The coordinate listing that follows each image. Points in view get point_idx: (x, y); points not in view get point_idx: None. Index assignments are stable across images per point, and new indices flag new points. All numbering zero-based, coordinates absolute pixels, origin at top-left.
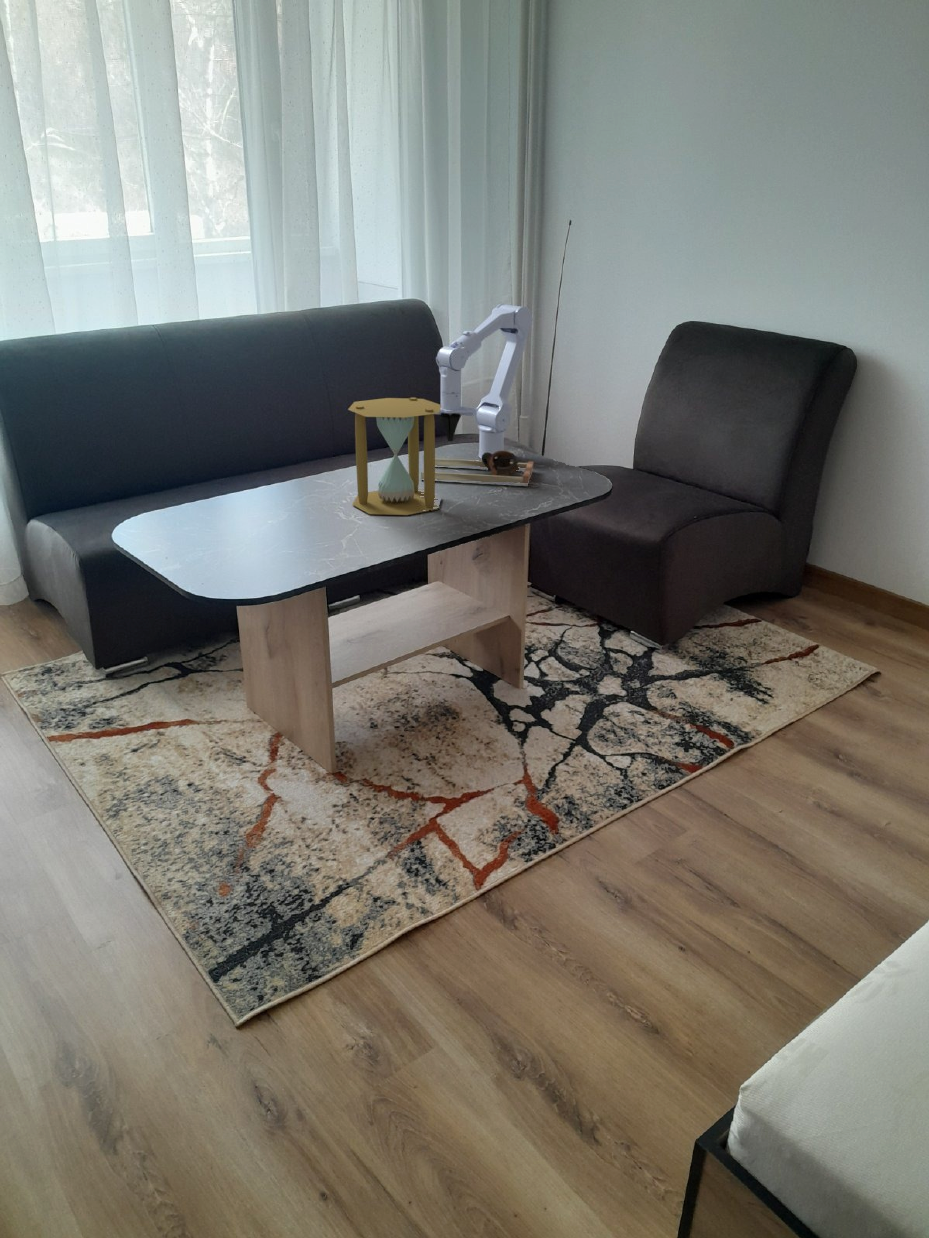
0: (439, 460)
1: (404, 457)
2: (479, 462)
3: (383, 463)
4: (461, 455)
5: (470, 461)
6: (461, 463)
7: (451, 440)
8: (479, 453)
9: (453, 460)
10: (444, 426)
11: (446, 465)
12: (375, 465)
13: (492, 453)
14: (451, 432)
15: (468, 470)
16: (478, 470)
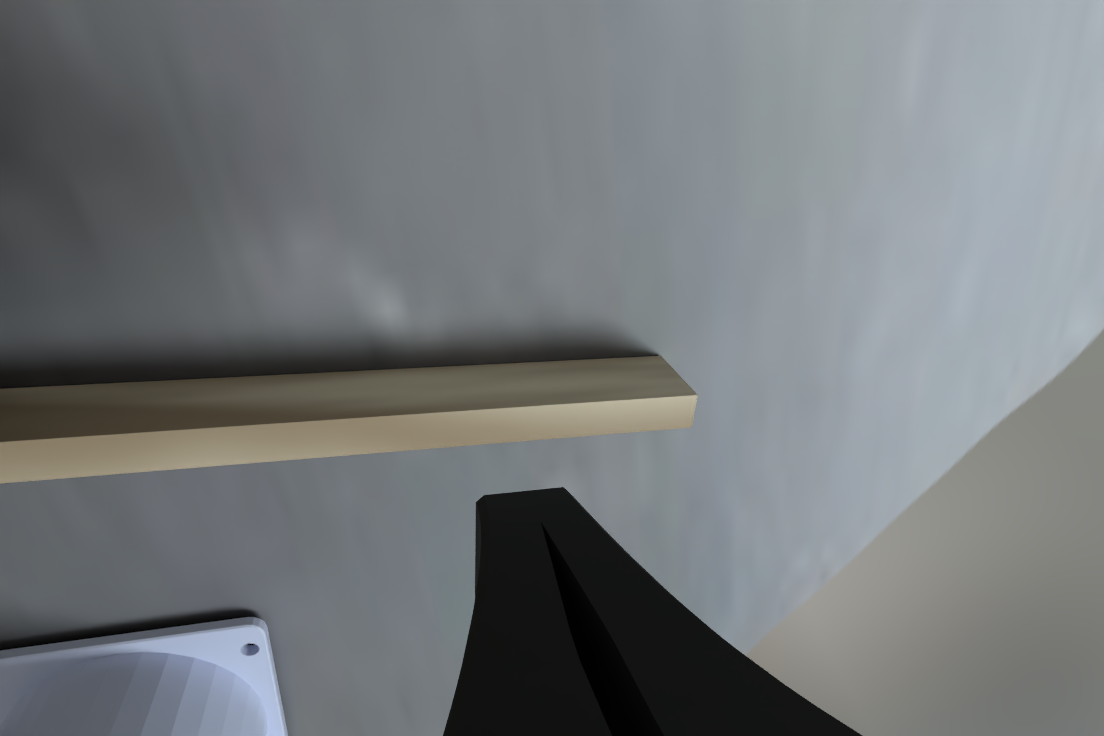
0: (600, 395)
1: (852, 549)
2: (88, 431)
3: (1014, 373)
4: (444, 717)
5: (219, 425)
6: (342, 400)
7: (498, 500)
8: (244, 728)
9: (442, 409)
10: (796, 701)
11: (513, 377)
12: (1081, 306)
13: (49, 732)
14: (531, 609)
15: (252, 344)
16: (131, 370)
